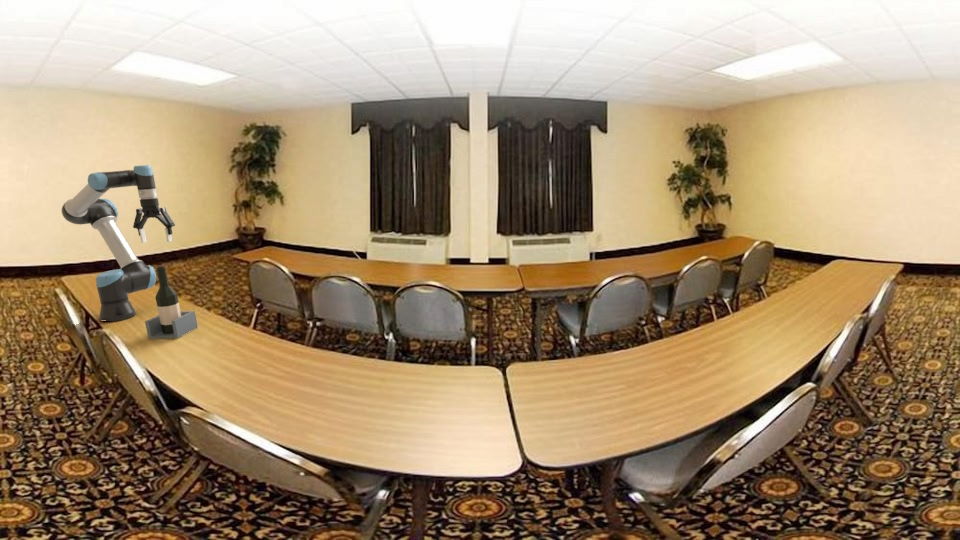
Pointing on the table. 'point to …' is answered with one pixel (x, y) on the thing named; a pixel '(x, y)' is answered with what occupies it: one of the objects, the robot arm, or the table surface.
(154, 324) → the bottle stand
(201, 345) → the table surface
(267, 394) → the table surface
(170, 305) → the wine bottle
